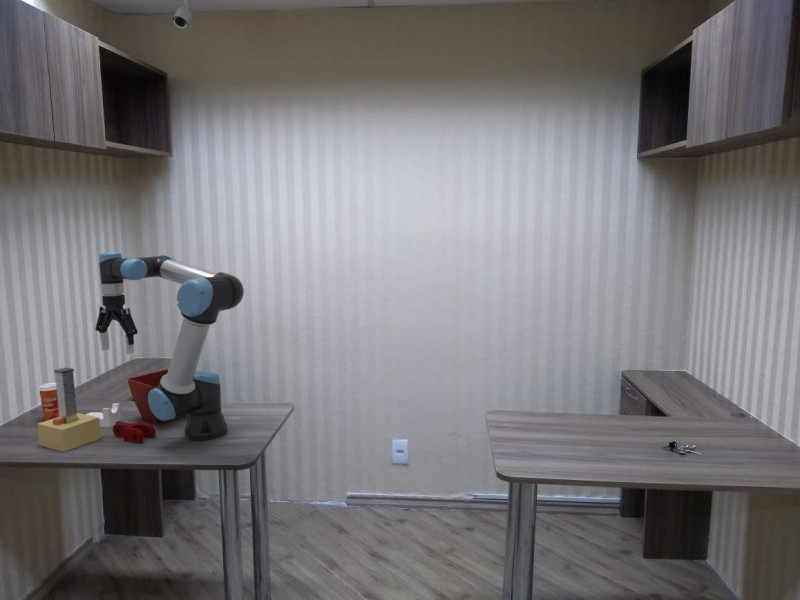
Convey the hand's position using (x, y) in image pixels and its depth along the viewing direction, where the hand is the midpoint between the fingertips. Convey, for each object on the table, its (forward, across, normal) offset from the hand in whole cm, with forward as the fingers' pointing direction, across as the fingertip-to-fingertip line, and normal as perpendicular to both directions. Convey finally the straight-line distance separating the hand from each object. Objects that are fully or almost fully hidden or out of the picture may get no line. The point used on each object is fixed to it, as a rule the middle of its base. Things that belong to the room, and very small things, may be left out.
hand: (117, 351), depth 222 cm
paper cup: (+31, +39, +3) cm, 50 cm away
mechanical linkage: (+31, -8, +3) cm, 32 cm away
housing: (+31, +8, +16) cm, 36 cm away
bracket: (+31, +16, -2) cm, 35 cm away
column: (+25, +8, +16) cm, 30 cm away
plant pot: (+31, -1, -18) cm, 36 cm away
